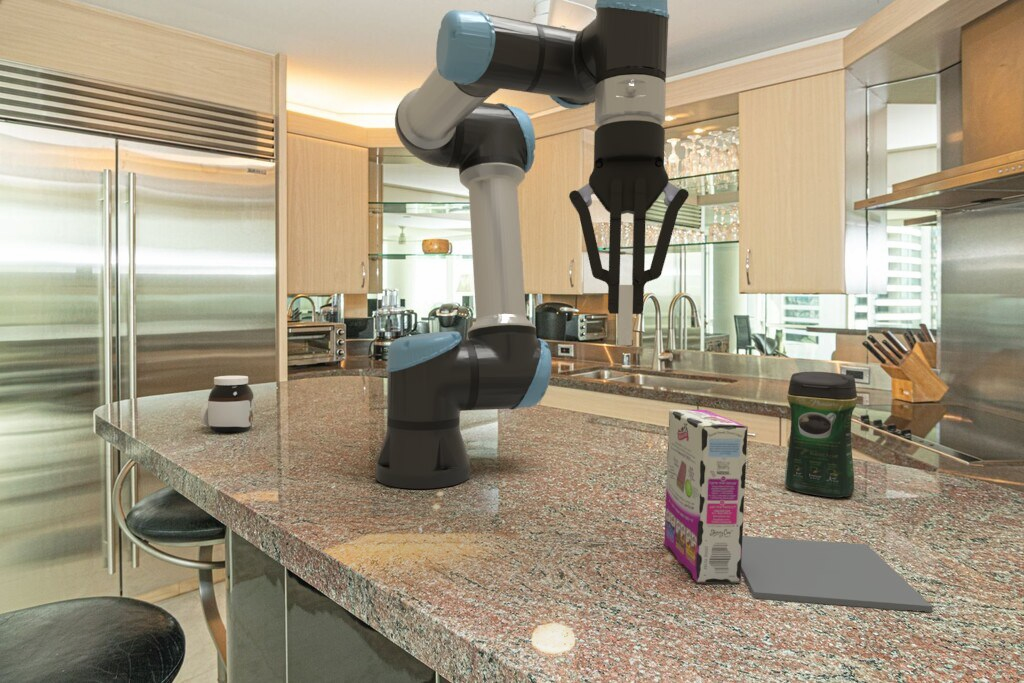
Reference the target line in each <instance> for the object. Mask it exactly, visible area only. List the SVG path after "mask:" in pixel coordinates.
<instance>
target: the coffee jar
mask: <svg viewBox="0 0 1024 683" xmlns="http://www.w3.org/2000/svg"><path fill="white" fill-rule="evenodd" d="M786 397H787V402H788V405H789V407H790V434H789V435H790V436H789V442H788V451H787V458H786V463H785V473H784V484H785V486H786V487H787V488H788V489H789V490H791V491H796V492H799V493H802V494H805V495H812V496H818V497H819V496H820V497H829V498H842V497H846V498H847V497H848V496H851V495H852V494H853V493H854V489H855V474H854V461H853V448H852V418H853V417H852V416H853V413H854V410H855V408H856V406H857V403H858V393H857V387H856V380H855V376H854V375H851V374H845V373H837V372H828V371H801V372H800V371H799V372H795V373H793V374H792V375H791V377H790V381H789V385H788V391H787V396H786Z"/></svg>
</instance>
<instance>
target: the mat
mask: <svg viewBox="0 0 1024 683" xmlns="http://www.w3.org/2000/svg"><path fill="white" fill-rule="evenodd" d="M741 576H742V577H743V578H744V581H745V583H746V585H747V587H748V589H749V591H750V594H751V596H752V597H753V599H761V600H770V601H771V600H773V601H785V602H787V601H788V602H798V603H811V604H822V605H823V604H825V605H834V606H835V605H836V606H846V607H861V608H869V609H870V608H871V609H883V610H884V609H885V610H896V611H899V610H900V611H907V610H913V611H912V612H919V611H925V612H924V613H931V612H932V613H933V608H934V606H933V605H932V604H931V603H930V602H929V601H928V600H926V598H924V597H923V596H922V595H921V593H919V592H918V591H917V590H916V589H915V588H914V587H913V586H912V585H911V584H910V583H909V582H907V580H906V579H904V578H903V577H902V576H901V575H900V574H899V573H898V572H897V571H896V570H895V569H894V568H892V567H891V566H890V565H889V564H888V563H887V562H886V561H885V560H884V559H883V558H882V557H881V556H880V554H878V553H876V551H874V549H872V548H871V547H870V546H869V545H868V544H867V543H851V542H838V541H825V540H824V541H822V540H808V539H793V538H776V537H764V536H762V537H761V536H749V535H743V536H742V559H741ZM914 610H916V611H914ZM917 610H918V611H917Z"/></svg>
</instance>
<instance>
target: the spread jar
mask: <svg viewBox="0 0 1024 683" xmlns="http://www.w3.org/2000/svg"><path fill="white" fill-rule="evenodd" d="M213 384H214V386H213V388H212V389H211V391H210V393H209V394H208V399H207V400H208V401H207V402H205V403H204V405H203V406H202V408H201V410H200V414H199V418H200V422H201V423H202V424H203V425H205V426H207V427H209V429H210V431H212V432H213V433H215V434H219V435H220V434H221V435H233V434H234V435H235V434H242V433H246V432H248V431H250V429H251V428H252V425H253V423H254V419H255V418H254V417H255V415H254V414H255V403H254V402H255V399H254V398H255V397H254V392H253V389H252V388H251V386H249V376H248V375H220V376H215V377H213Z"/></svg>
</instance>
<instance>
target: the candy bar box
mask: <svg viewBox="0 0 1024 683" xmlns="http://www.w3.org/2000/svg"><path fill="white" fill-rule="evenodd" d="M748 428H749V427H748V425H744V424H743V423H739V422H737V421H734V420H732V419H730V418H727V417H725V416H722V415H720V414H717V413H715V412H712V411H709V410H706V409H669V411H668V435H667V436H668V438H667V439H668V442H667V459H666V461H667V462H666V466H667V467H666V486H665V489H666V490H665V512H664V513H665V516H664V537H663V538H664V540H663V541H664V542H663V545H664V546H665V548H666V549H667V550H668V551H669V552H670V553H671V554H672V555H673V557H674V558H675V559H676V561H678V562H679V564H680V565H681V566H682V567H683V568H684V569H685V571H686V572H687V573H689V574H690V576H691V577H692V579H694V581H695V582H696V583H698V584H739V583H741V581H742V573H741V559H742V536H744V535H743V533H744V532H743V528H744V516H745V515H744V513H745V512H744V509H745V508H744V507H745V491H746V475H747V474H746V472H747V471H746V470H747V469H746V468H747V449H748V448H747V447H748Z"/></svg>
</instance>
